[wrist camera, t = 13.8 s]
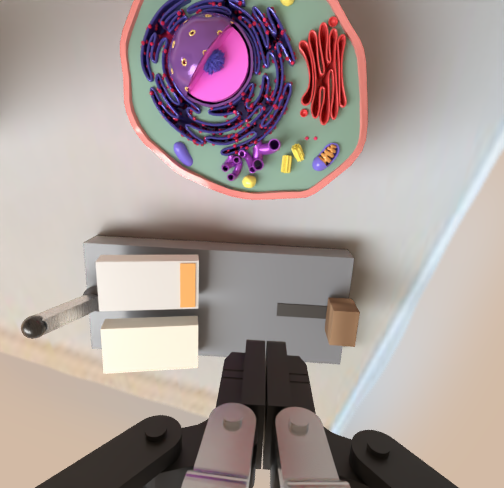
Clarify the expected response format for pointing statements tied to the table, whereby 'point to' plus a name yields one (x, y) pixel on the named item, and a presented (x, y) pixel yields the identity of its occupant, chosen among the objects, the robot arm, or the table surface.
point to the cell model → (247, 92)
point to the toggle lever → (59, 316)
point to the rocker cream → (149, 344)
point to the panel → (243, 293)
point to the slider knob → (341, 322)
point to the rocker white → (147, 282)
